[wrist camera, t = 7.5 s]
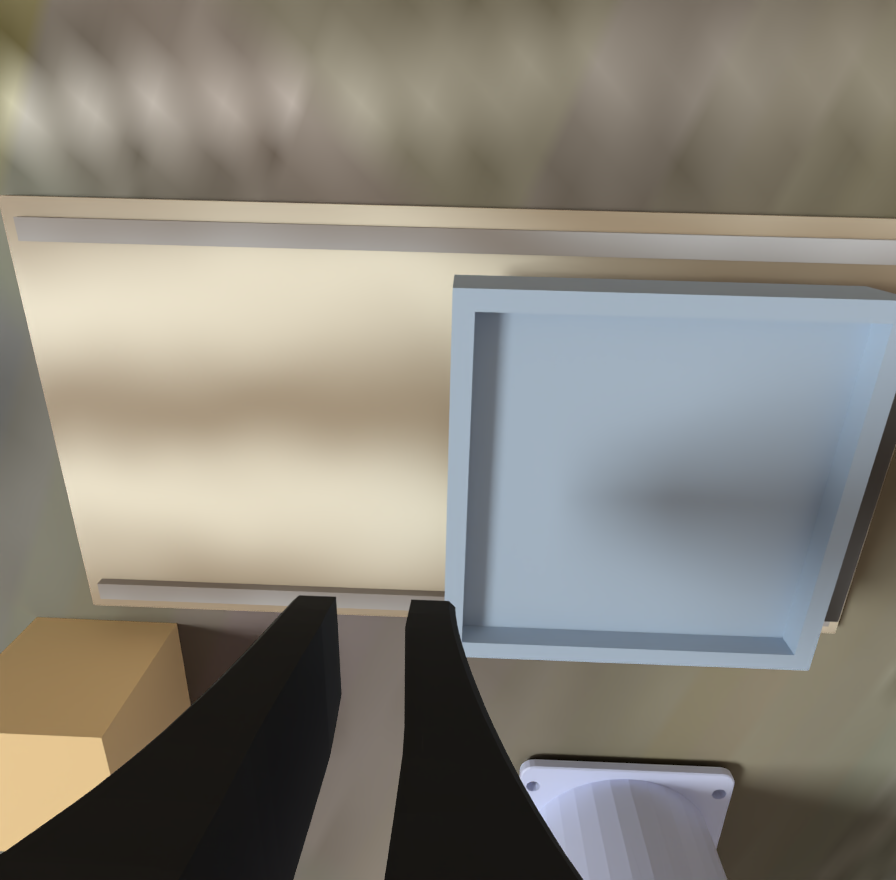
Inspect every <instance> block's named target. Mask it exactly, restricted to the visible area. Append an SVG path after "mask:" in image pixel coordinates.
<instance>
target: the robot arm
mask: <svg viewBox="0 0 896 880" xmlns="http://www.w3.org/2000/svg"><path fill="white" fill-rule="evenodd" d="M340 699H341V678H340V659H339V641H338V623H337V604H336V597H331V596H305V595H299V596H298V597H296V598H295V599H294V600H293V601H292V602H291V603H290V604H289V605H288V606H287V607H286V609H285V610H284V611H283V612H282V613H281V614H280V615H279V616H278V617H277V618H276V620H275V621H274V622H273V623H272V624H271V625H270V626H269V627H268V628H267V629H266V631H265V632H264V633H263V634H262V635H261V636H260V637H259V638H258V639H257V640H256V641H255V642H254V643H253V644H252V645H251V647H250V648H249V649H248V650H247V651H246V652H245V653H244V654H243V655H242V656H241V657H240V658H239V659H238V660H237V661H236V662H235V663H234V664H233V665H232V666H231V667H230V668H229V669H228V670H227V671H226V672H225V673H224V674H223V675H222V676H221V677H220V678H219V679H218V680H217V681H216V682H215V683H214V684H213V685H212V686H211V687H210V688H209V689H208V690H207V691H206V692H205V693H204V694H203V695H202V696H201V697H200V698H199V699H197V700H196V701H195V702H194V703H193V704H192V705H191V706H190V707H189V708H188V709H187V710H186V711H184V712H183V713H182V714H181V715H180V716H179V717H178V718H177V719H176V720H175V721H174V722H172V723H171V724H170V725H169V726H168V727H167V728H166V729H165V730H164V731H163V732H162V733H160V734H159V735H158V736H157V737H156V738H155V739H153V740H152V741H151V742H150V743H149V744H148V745H146V746H145V747H144V748H143V749H142V750H141V751H139V752H138V753H137V754H136V755H135V756H133V757H132V758H131V759H130V760H129V761H127V762H126V763H125V764H124V765H122V766H121V767H120V768H119V769H117V770H116V771H115V772H114V773H112V774H111V775H110V776H109V777H107V778H106V779H105V780H103V781H102V782H101V783H100V784H98V785H97V786H96V787H95V788H93V789H92V790H91V791H89V792H88V793H87V794H85V795H84V796H83V797H81V798H80V799H78V800H77V801H76V802H74V803H73V804H72V805H70V806H69V807H67V808H66V809H64V810H63V811H62V812H60V813H59V814H57V815H56V816H55V817H53V818H52V819H50V820H49V821H47V822H46V823H45V824H43V825H42V826H40V827H39V828H37V829H36V830H35V831H33V832H32V833H30V834H29V835H28V836H26V837H25V838H23V839H22V840H20V841H19V842H18V843H16V844H15V845H13V846H12V847H11V848H9V849H8V850H6V851H5V852H3V853H2V854H0V880H293V879H294V875H295V872H296V869H297V865H298V862H299V859H300V855H301V852H302V849H303V845H304V842H305V839H306V835H307V832H308V829H309V825H310V822H311V819H312V815H313V812H314V809H315V805H316V802H317V799H318V795H319V792H320V789H321V785H322V782H323V778H324V775H325V772H326V768H327V765H328V761H329V758H330V754H331V748H332V743H333V738H334V733H335V727H336V722H337V716H338V710H339V705H340ZM533 781H534V782H533ZM734 784H735V781H734V778H733V776H732V774H731V772H730V771H729V770H728V769H726V768H722V767H707V766H683V765H660V764H636V763H612V762H589V761H565V760H542V759H531V760H527V761H525V762H524V763H523V764H522V765H521V767H520V775H519V776H518V774H517V772H516V770H515V768H514V766H513V764H512V762H511V760H510V758H509V757H508V755H507V753H506V751H505V749H504V747H503V744H502V742H501V740H500V738H499V736H498V734H497V732H496V730H495V728H494V726H493V724H492V721H491V719H490V717H489V715H488V712H487V710H486V708H485V706H484V703H483V701H482V698H481V696H480V693H479V690H478V688H477V685H476V683H475V680H474V678H473V675H472V673H471V670H470V667H469V664H468V661H467V658H466V655H465V652H464V648H463V645H462V642H461V638H460V634H459V630H458V625H457V619H456V609H455V606H454V605H453V604H452V603H451V602H450V601H437V600H411V603H410V607H409V612H408V617H407V622H406V627H405V728H404V744H403V756H402V763H401V771H400V778H399V785H398V792H397V799H396V806H395V813H394V820H393V826H392V833H391V840H390V846H389V853H388V860H387V866H386V873H385V879H384V880H727V877H726V875H725V872H724V869H723V867H722V864H721V861H720V859H719V856H718V853H717V850H716V849H717V845H718V842H719V838H720V835H721V831H722V827H723V824H724V820H725V817H726V813H727V809H728V806H729V802H730V799H731V795H732V792H733V788H734Z"/></svg>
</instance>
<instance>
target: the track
mask: <svg viewBox="0 0 896 880" xmlns="http://www.w3.org/2000/svg"><path fill="white" fill-rule="evenodd" d="M0 209H1V213H2V218H3V222H4V226H5V230H6V235H7V239H8V243H9V247H10V252H11V256H12V260H13V264H14V269H15V273H16V277H17V281H18V286H19V290H20V294H21V298H22V303H23V307H24V311H25V315H26V320H27V324H28V328H29V332H30V337H31V341H32V345H33V349H34V354H35V358H36V362H37V366H38V371H39V375H40V379H41V383H42V388H43V392H44V396H45V400H46V405H47V409H48V413H49V417H50V421H51V426H52V430H53V434H54V438H55V443H56V447H57V451H58V455H59V460H60V464H61V468H62V472H63V477H64V481H65V485H66V489H67V494H68V498H69V502H70V506H71V511H72V515H73V519H74V523H75V528H76V532H77V536H78V540H79V545H80V549H81V553H82V557H83V562H84V566H85V570H86V574H87V579H88V583H89V587H90V591H91V596H92V600H93V604H94V605H107V606H133V607H159V608H185V609H211V610H238V611H264V612H283V611H284V610H285V609H286V607H287V606H288V605H289V604H290V603H291V602H292V601H293V600H294V599H295V598H296V597H298V596H299V595H305V596H331V597H336V604H337V614H342V615H368V616H394V617H408V612H409V607H410V603H411V600H437V601H445V563H446V524H447V486H448V447H449V409H450V370H451V332H452V293H453V282H454V275H487V276H523V277H558V278H594V279H629V280H665V281H700V282H736V283H771V284H807V285H842V286H867V287H871V288H875V289H879V290H882V291H886V292H890V293H894V294H896V218H861V217H823V216H785V215H746V214H708V213H670V212H632V211H594V210H556V209H517V208H479V207H441V206H403V205H365V204H326V203H288V202H250V201H212V200H174V199H136V198H97V197H59V196H21V195H0ZM895 447H896V393H895V396H894V400H893V403H892V406H891V409H890V412H889V415H888V419H887V422H886V425H885V428H884V431H883V435H882V438H881V441H880V444H879V447H878V451H877V454H876V457H875V460H874V463H873V467H872V470H871V473H870V476H869V479H868V483H867V486H866V489H865V492H864V495H863V499H862V502H861V505H860V508H859V511H858V515H857V518H856V521H855V524H854V527H853V531H852V534H851V537H850V540H849V543H848V547H847V550H846V553H845V556H844V559H843V563H842V566H841V569H840V572H839V575H838V579H837V582H836V585H835V588H834V591H833V595H832V598H831V601H830V604H829V607H828V611H827V614H826V617H825V620H824V623H823V626H822V630H821V633H835V632H836V629H837V626H838V623H839V619H840V616H841V613H842V610H843V607H844V604H845V601H846V598H847V595H848V592H849V589H850V585H851V582H852V579H853V576H854V573H855V570H856V567H857V564H858V561H859V558H860V555H861V552H862V548H863V545H864V542H865V539H866V536H867V533H868V530H869V527H870V524H871V521H872V518H873V514H874V511H875V508H876V505H877V502H878V499H879V496H880V493H881V490H882V487H883V484H884V481H885V477H886V474H887V471H888V468H889V465H890V462H891V459H892V456H893V453H894V450H895Z"/></svg>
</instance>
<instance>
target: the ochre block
mask: <svg viewBox="0 0 896 880" xmlns="http://www.w3.org/2000/svg"><path fill="white" fill-rule="evenodd" d="M190 706H191V705H190V699H189V693H188V687H187V681H186V675H185V669H184V663H183V657H182V651H181V645H180V639H179V633H178V627H177V623H157V622H134V621H111V620H88V619H66V618H43V617H37V618H36V619H35V620H34V621H33V622H32V623H31V624H30V625H29V626H28V627H27V628H26V629H25V630H24V631H23V632H22V633H21V634H20V635H19V636H18V637H17V638H16V639H15V640H14V641H13V642H12V643H11V644H10V645H9V646H8V647H7V648H6V649H5V650H4V651H3V652H2V653H1V654H0V851H6V850H8V849H9V848H11V847H12V846H13V845H15V844H16V843H18V842H19V841H20V840H22V839H23V838H25V837H26V836H28V835H29V834H30V833H32V832H33V831H35V830H36V829H37V828H39V827H40V826H42V825H43V824H45V823H46V822H47V821H49V820H50V819H52V818H53V817H55V816H56V815H57V814H59V813H60V812H62V811H63V810H64V809H66V808H67V807H69V806H70V805H72V804H73V803H74V802H76V801H77V800H78V799H80V798H81V797H83V796H84V795H85V794H87V793H88V792H89V791H91V790H92V789H93V788H95V787H96V786H97V785H98V784H100V783H101V782H102V781H103V780H105V779H106V778H107V777H109V776H110V775H111V774H112V773H114V772H115V771H116V770H117V769H119V768H120V767H121V766H122V765H124V764H125V763H126V762H127V761H129V760H130V759H131V758H132V757H133V756H135V755H136V754H137V753H138V752H139V751H141V750H142V749H143V748H144V747H145V746H146V745H148V744H149V743H150V742H151V741H152V740H153V739H155V738H156V737H157V736H158V735H159V734H160V733H162V732H163V731H164V730H165V729H166V728H167V727H168V726H169V725H170V724H171V723H172V722H174V721H175V720H176V719H177V718H178V717H179V716H180V715H181V714H182V713H183V712H184V711H186V710H187V709H188V708H189V707H190Z"/></svg>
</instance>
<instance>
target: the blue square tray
mask: <svg viewBox="0 0 896 880" xmlns="http://www.w3.org/2000/svg"><path fill="white" fill-rule="evenodd" d="M895 393H896V294H894V293H890V292H886V291H882V290H879V289H875V288H871V287H867V286H842V285H807V284H771V283H736V282H700V281H665V280H629V279H594V278H558V277H523V276H487V275H454V282H453V293H452V332H451V370H450V409H449V447H448V486H447V524H446V563H445V601H450V602H451V603H452V604H453V605H454V606H455V609H456V619H457V625H458V630H459V634H460V638H461V642H462V645H463V648H464V652H465V655H466V657H478V658H503V659H529V660H554V661H579V662H605V663H630V664H655V665H681V666H706V667H732V668H757V669H782V670H808V671H809V668H810V665H811V662H812V658H813V655H814V652H815V649H816V646H817V642H818V639H819V636H820V633H821V630H822V626H823V623H824V620H825V617H826V614H827V611H828V607H829V604H830V601H831V598H832V595H833V591H834V588H835V585H836V582H837V579H838V575H839V572H840V569H841V566H842V563H843V559H844V556H845V553H846V550H847V547H848V543H849V540H850V537H851V534H852V531H853V527H854V524H855V521H856V518H857V515H858V511H859V508H860V505H861V502H862V499H863V495H864V492H865V489H866V486H867V483H868V479H869V476H870V473H871V470H872V467H873V463H874V460H875V457H876V454H877V451H878V447H879V444H880V441H881V438H882V435H883V431H884V428H885V425H886V422H887V419H888V415H889V412H890V409H891V406H892V403H893V400H894V396H895Z"/></svg>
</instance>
